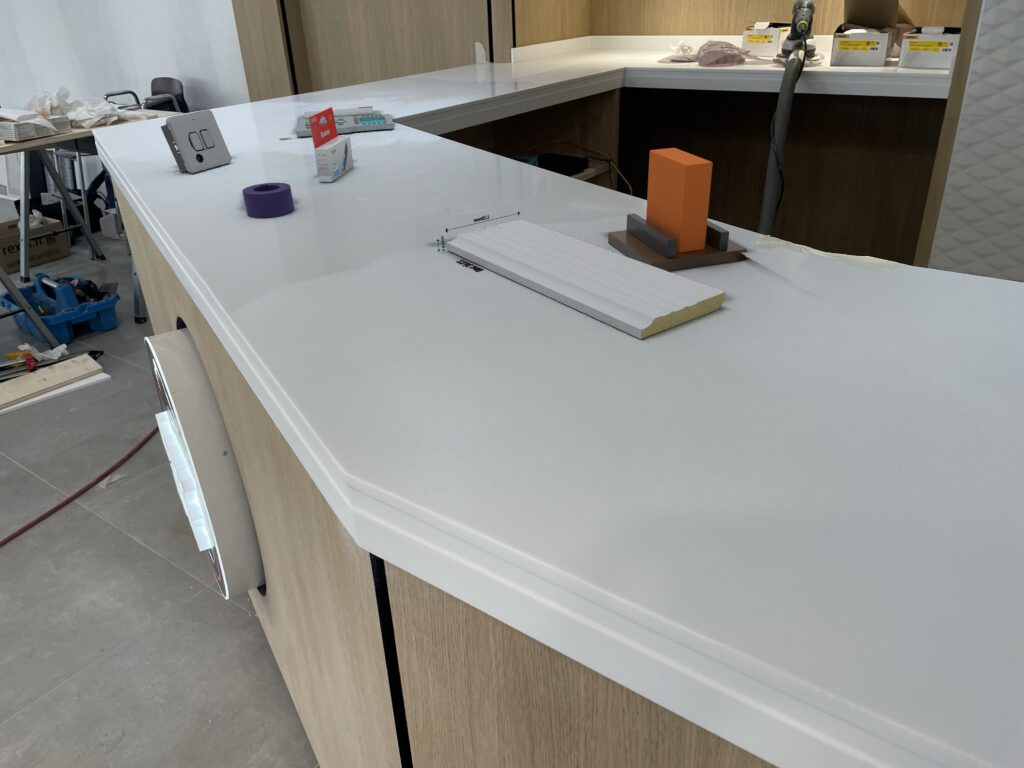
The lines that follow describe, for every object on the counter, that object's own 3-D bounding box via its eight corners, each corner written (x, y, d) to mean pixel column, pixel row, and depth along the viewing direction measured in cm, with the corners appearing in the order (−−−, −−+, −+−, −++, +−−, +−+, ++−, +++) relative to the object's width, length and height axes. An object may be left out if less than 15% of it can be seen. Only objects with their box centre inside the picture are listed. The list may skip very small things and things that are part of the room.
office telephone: (299, 109, 168) (386, 103, 172) (301, 121, 169) (387, 115, 173) (294, 124, 148) (393, 117, 151) (296, 137, 149) (394, 130, 153)
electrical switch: (192, 174, 123) (174, 116, 119) (171, 175, 125) (153, 118, 121) (233, 163, 130) (218, 108, 126) (213, 164, 133) (198, 110, 128)
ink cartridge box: (354, 166, 124) (346, 105, 119) (333, 182, 114) (323, 117, 110) (340, 167, 124) (331, 106, 119) (317, 183, 115) (307, 117, 110)
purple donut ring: (298, 213, 99) (294, 189, 98) (250, 220, 97) (245, 196, 96) (282, 194, 109) (278, 172, 108) (238, 200, 107) (233, 178, 105)
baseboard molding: (627, 344, 60) (723, 307, 66) (629, 312, 59) (727, 277, 65) (435, 253, 83) (520, 231, 89) (433, 227, 81) (519, 207, 87)
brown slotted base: (694, 231, 86) (696, 204, 85) (745, 260, 77) (749, 230, 75) (607, 242, 84) (608, 215, 82) (650, 274, 74) (652, 243, 73)
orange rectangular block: (669, 228, 84) (674, 147, 79) (704, 249, 77) (713, 162, 72) (645, 231, 83) (649, 150, 79) (679, 253, 76) (685, 165, 72)
